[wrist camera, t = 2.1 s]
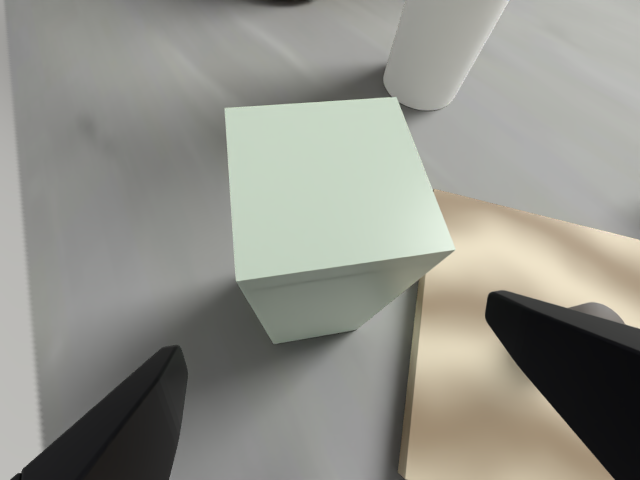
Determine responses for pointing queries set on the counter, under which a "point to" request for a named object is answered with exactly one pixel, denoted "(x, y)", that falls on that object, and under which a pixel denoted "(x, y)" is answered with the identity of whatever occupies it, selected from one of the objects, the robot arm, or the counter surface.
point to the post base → (491, 356)
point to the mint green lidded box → (328, 213)
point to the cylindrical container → (437, 49)
